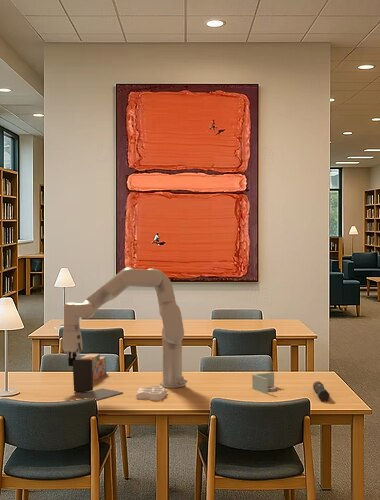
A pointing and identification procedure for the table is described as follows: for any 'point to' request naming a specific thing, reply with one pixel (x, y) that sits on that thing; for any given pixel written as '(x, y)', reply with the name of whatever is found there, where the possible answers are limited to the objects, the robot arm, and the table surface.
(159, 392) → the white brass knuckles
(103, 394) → the mat
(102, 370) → the stack of blocks
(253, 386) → the right angle wall
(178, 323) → the robot arm
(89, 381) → the card reader
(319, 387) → the flashlight
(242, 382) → the table surface
